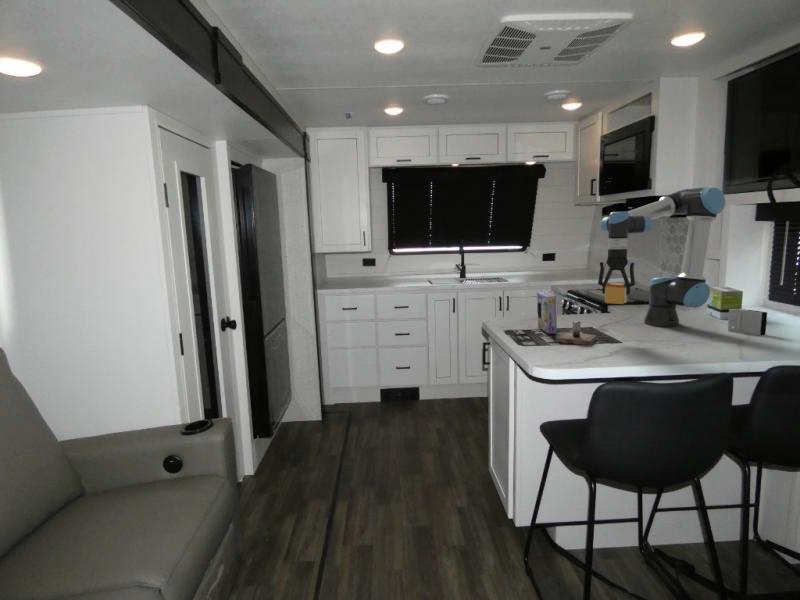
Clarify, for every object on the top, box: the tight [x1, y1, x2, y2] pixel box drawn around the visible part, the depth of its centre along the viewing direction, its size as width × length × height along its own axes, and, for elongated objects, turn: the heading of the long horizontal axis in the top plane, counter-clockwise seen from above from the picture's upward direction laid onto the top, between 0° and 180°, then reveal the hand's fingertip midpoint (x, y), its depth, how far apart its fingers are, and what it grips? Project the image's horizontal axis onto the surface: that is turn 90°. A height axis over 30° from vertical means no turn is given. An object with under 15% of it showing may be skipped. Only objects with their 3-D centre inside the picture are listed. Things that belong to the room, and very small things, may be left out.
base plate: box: [555, 331, 597, 346], centre depth 212 cm, size 14×12×2 cm
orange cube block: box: [604, 282, 626, 305], centre depth 212 cm, size 7×7×8 cm
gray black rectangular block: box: [727, 308, 768, 336], centre depth 218 cm, size 14×5×10 cm, turn 37°
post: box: [572, 320, 581, 337], centre depth 212 cm, size 3×3×6 cm
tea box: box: [706, 286, 744, 320], centre depth 253 cm, size 15×10×15 cm
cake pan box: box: [536, 290, 558, 334], centre depth 234 cm, size 19×5×18 cm, turn 178°
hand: (615, 301), depth 213 cm, fingers closed on orange cube block, 7 cm apart
